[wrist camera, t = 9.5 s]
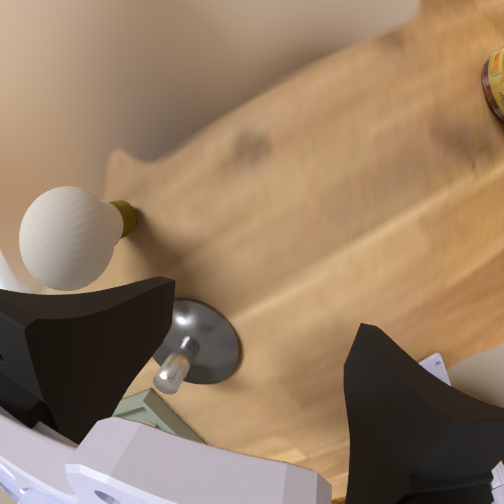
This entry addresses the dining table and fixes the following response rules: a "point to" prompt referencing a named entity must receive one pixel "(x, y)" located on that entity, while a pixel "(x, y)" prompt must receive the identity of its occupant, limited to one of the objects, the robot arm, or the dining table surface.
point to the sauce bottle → (495, 82)
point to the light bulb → (72, 236)
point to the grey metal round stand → (195, 347)
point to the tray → (153, 413)
